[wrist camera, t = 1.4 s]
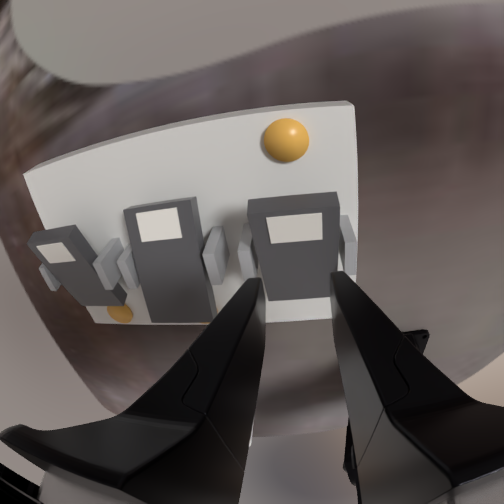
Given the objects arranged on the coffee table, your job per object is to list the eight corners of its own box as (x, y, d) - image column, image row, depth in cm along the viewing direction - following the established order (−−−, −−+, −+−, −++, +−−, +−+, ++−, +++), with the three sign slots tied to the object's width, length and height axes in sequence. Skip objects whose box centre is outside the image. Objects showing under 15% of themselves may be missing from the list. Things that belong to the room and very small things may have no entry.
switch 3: (334, 282, 19) (335, 297, 18) (268, 287, 19) (268, 302, 19) (336, 191, 13) (340, 207, 13) (248, 199, 14) (246, 215, 13)
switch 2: (217, 313, 18) (213, 322, 17) (157, 314, 19) (151, 323, 18) (196, 196, 16) (189, 199, 15) (131, 206, 17) (122, 210, 16)
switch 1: (127, 294, 21) (123, 306, 20) (86, 294, 22) (81, 306, 21) (75, 224, 16) (68, 238, 15) (33, 232, 16) (26, 244, 16)
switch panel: (349, 297, 23) (359, 346, 19) (104, 307, 26) (82, 346, 22) (346, 100, 15) (368, 114, 11) (39, 163, 18) (-3, 191, 14)
